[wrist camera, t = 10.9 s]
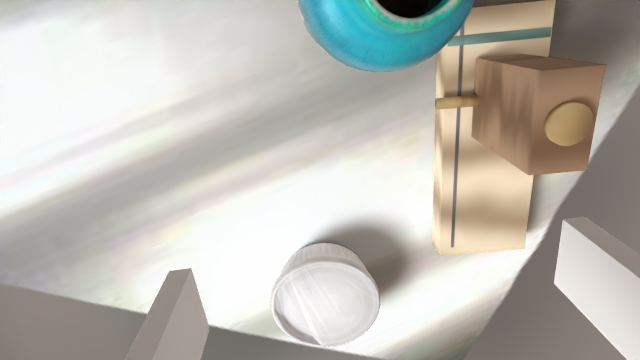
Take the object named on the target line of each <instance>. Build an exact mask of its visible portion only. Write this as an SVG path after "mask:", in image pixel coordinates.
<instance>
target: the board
mask: <svg viewBox="0 0 640 360" xmlns="http://www.w3.org/2000/svg"><path fill="white" fill-rule="evenodd" d="M555 2H556V0H546V1H536V2H525V3H515V4H504V5H494V6H483V7H473V8H472V9H471V11H470V14H469V15H468V17H467V19H466V20H465V22H464V24H463V26H462V27H461V28H460V30H459V31H458V32H457V33H456V35H455V36H454V37H453V39H452V40H451V41H450V42H448V43H447V44H446V45H445V46H444V47H443V48H442V49H441V50H440V51H439V52H437V72H436V98H444V97H455V96H466V95H474V82H475V66H476V58H482V57H493V56H503V55H514V54H529V55H536V56H544V57H549V49H550V42H551V34H552V26H553V18H554V10H555ZM472 116H473V106H472V107H461V108H451V109H440V110H437V109H436V114H435V156H434V199H433V241H432V244H433V246H434V248H435V249H436V251H437V253H438V255H439V256H449V255H460V254H471V253H481V252H492V251H503V250H514V249H524V247H525V239H526V231H527V223H528V215H529V208H530V200H531V192H532V184H533V176H534V175H527V174H526V173H524V172H523V171H521V170H520V169H518V168H517V167H515V166H514V165H512V164H511V163H509V162H508V161H506V160H505V159H504V158H502V157H501V156H499V155H498V154H496V153H495V152H493V151H492V150H490V149H489V148H487V147H486V146H484V145H483V144H481V143H480V142H478V141H477V140H475V139H474V138H472V137H471V133H472Z"/></svg>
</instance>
